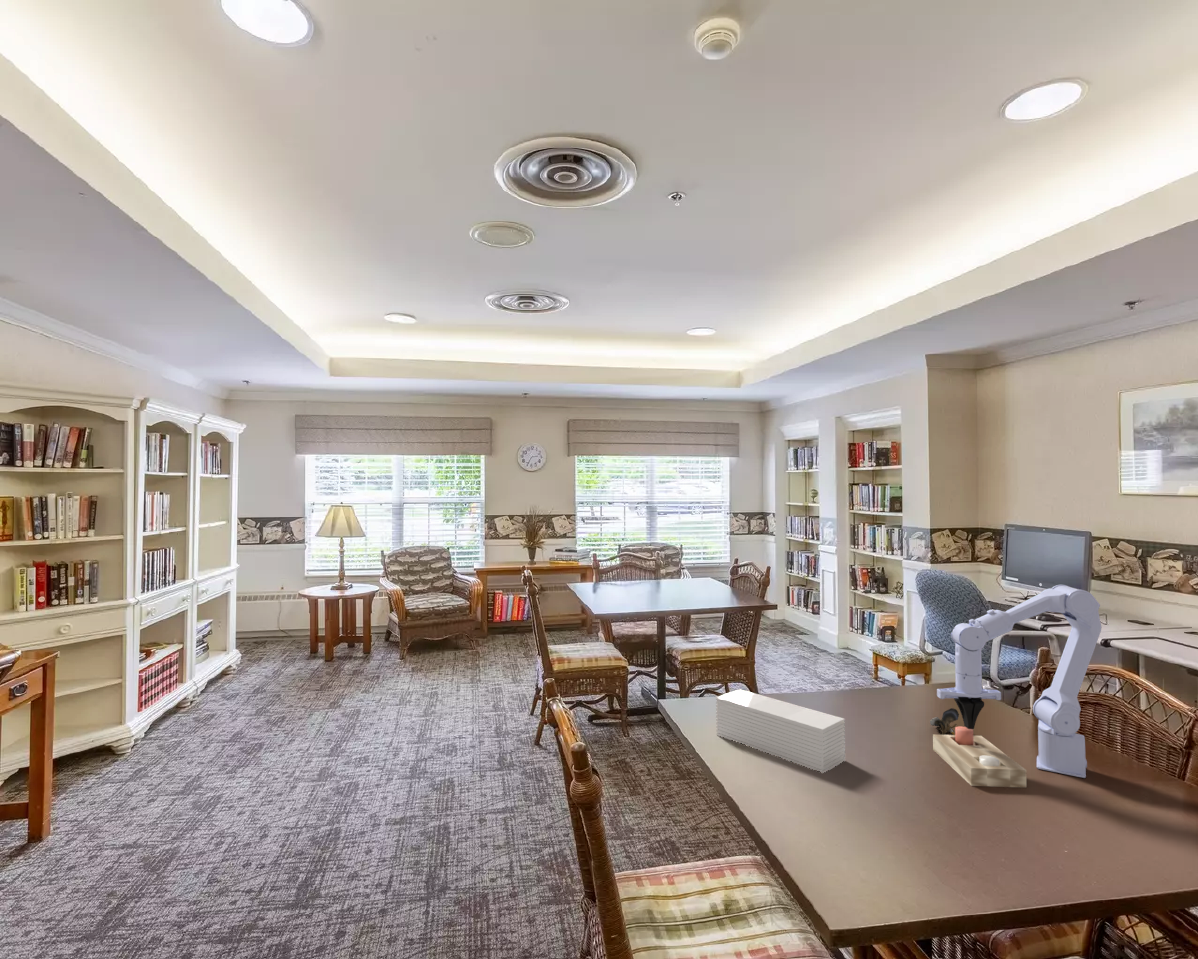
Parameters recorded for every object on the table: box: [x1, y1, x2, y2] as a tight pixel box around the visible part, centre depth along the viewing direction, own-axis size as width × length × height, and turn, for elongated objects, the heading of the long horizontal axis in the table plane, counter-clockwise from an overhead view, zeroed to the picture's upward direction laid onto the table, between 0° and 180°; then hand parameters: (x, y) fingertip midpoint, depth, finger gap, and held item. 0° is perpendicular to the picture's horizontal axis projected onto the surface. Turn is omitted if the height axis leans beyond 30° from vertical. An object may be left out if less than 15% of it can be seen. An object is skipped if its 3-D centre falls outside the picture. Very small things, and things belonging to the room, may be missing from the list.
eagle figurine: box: [929, 707, 960, 735], centre depth 177 cm, size 8×7×9 cm
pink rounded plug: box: [954, 725, 974, 745], centre depth 161 cm, size 4×4×4 cm
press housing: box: [932, 734, 1027, 789], centre depth 155 cm, size 12×20×4 cm, turn 175°
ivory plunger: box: [979, 755, 999, 766], centre depth 149 cm, size 4×4×4 cm
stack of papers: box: [715, 688, 846, 774], centre depth 168 cm, size 32×11×11 cm, turn 41°
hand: (969, 727), depth 158 cm, fingers closed
